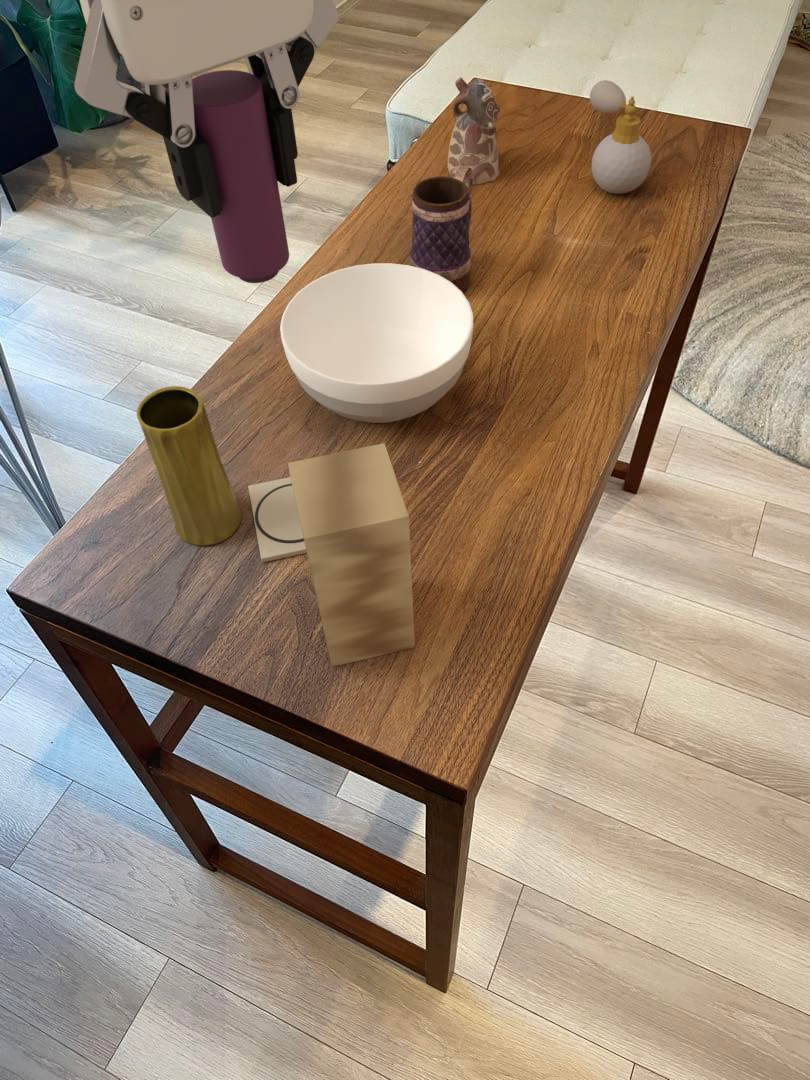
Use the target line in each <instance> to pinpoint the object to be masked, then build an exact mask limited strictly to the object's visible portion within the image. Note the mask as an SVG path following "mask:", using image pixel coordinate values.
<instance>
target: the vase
mask: <svg viewBox="0 0 810 1080" xmlns="http://www.w3.org/2000/svg"><path fill="white" fill-rule="evenodd" d="M136 418H137V421H138V422H139V425H140V428H141V430H142V433H143V436H144V438H145V442H146V445H147V448H148V451H149V453H150V455H151V458H152V461H153V463H154V465H155V468H156V471H157V475H158V476H159V479H160V483H161V485H162V488H163V492H164V495H165V497H166V501H167V504H168V507H169V510H170V514H171V516H172V519H173V521H174V527H175V531H176V533H177V534H178V536H179V537H180V538H181V539H182V540H183V541H185V542H186V543H188V544H191V545H195V546H201V547H204V546H212V545H216V544H219V543H221V542H223V541H226V539H228V538H230V537H231V536H232V535H233V534H234V533H235V532H236V531H237V529H238V528H239V526H240V525H241V521H242V509H241V508H240V505H239V504H238V501H237V498H236V496H235V493H234V490H233V488H232V485H231V482H230V479H229V477H228V474H227V472H226V469H225V467H224V465H223V463H222V460H221V456H220V454H219V453H220V452H219V450H218V447H217V443H216V440H215V436H214V434H213V432H212V428H211V427H212V426H211V424H210V420H209V417H208V414H207V411H206V406H205V404H204V402H203V400H202V398H201V396H200V395H199V393H197V392H196V391H194V390H193V389H191V388H188V387H185V386H177V385H176V386H175V385H171V386H165V387H161V388H158V389H156V390H154V391H152V392H151V393H149V394H147V395H146V396H145V397H144V398H143V399H142V401H140V402H139V404H138V406H137V408H136Z"/></svg>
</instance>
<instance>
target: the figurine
mask: <svg viewBox="0 0 810 1080" xmlns="http://www.w3.org/2000/svg"><path fill="white" fill-rule="evenodd" d="M454 85H455V87H456V88H457V90H458V92H459V94H458V95H457V96H456V98H455V99H454V102H453V104H452V105H453V106H452V114H453V117H454V126H453V129H452V132H451V137H450V140H449V145H448V154H447V171H448V174H449V177H451V173H452V171H453V169H454V167H455V166H456V164H467V165H468V166H469V167H470V168H471V169H472V173H473V186H474V185H475V186H476V185H481V184H485V183H489V182H493V181H496V180H497V178H498V176H500V174H501V170H500V151H499V146H498V134H497V128H496V125H497V122H498V120H497V119H498V118H499V113H500V112H501V109H500V107H499V105H498V104H497V103H496V100H495V94H494V91H493V89H491V87H490V85H489V84H488V83H487V82H486V81H485V80H483V79H482V78H475V79H473V80H472V82H471V83H470V85H469V84H467V82H466V81H465V80H464V79H463V77H458V78H457V79H456V80H455V82H454ZM463 104H464V105H465V106H466V108H467V109H466V110H465V111H462V110H461V109H460V108H459V107H460V105H463Z"/></svg>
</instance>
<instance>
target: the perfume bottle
mask: <svg viewBox="0 0 810 1080" xmlns="http://www.w3.org/2000/svg"><path fill="white" fill-rule="evenodd" d="M589 101H590V102H589V103H590V104H591V106H592V108H594V110H596V111H598V112H600V113H602V114H611V115H612V114H617V113H619V112H621V111H623V110H624V112H625V114H621V115H618V117H616V121H615V128H614V130H613V132H612V133H610V134H609V135H607V136H606V137H604V138H603V139H602V140H601V141H600V142H599V143H598V145H597V146H596V148H595V150H594V152H593V155H592V158H591V167H590V169H591V173H592V177H593V179H594V181H595V183H596V184H597V185H598V186H599V187H600V189H601V190H603V191H605V192H607V193H609V194H615V195H622V194H627V193H630V192H633V191H635V190H636V189H637V188H638V187H639V186H641V185H642V184H643V183H644V181H645V180H646V178H647V177H648V175H649V172H650V170H651V166H652V154H651V150H650V146H649V145H648V143H647V141H646V140H645V139H644V138H643V137H642V136H641V135H640V134H639V130H640V126H641V118H640V117H639V116H637V115H634V114H635V113H636V112H637V106H636V105H635V104H636V100H635V96H630V98H629V99H628V104H627V97H626V95H625V93H624V91H623V89H622V88H621V87H620V86H619V85H618V84H617V83H615V82H613V81H611V80H606V79H603V80H599V81H598V82H596V83H595V84H594V85H593V86H592V88H591V89H590V92H589Z"/></svg>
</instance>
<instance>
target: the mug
mask: <svg viewBox="0 0 810 1080" xmlns="http://www.w3.org/2000/svg"><path fill="white" fill-rule="evenodd" d="M473 186H474V185H473V173H472V169H471V168H470V167H469V166H468V165H467V164H456V166H455V167H454V169H453V171H452V173H451V176H446V175H445V176H432V177H428V178H425V179H423V180H421V181H419V182H418V183H416V185H415V186H414V188H413V194H412V198H411V210H412V219H411V221H412V225H411V227H412V230H411V240H412V241H411V249H410V255H409V258H410V259H409V266H413V267H418V268H422V269H425V270H428V271H430V272H433V273H435V274H438V275H440V276H442V277H443V278H445V279H447V280H448V281H450V282H452V283H453V284H454V285H455V286H456V287H457V288H458V289H459V290H460V291H462V293H464V291H465V290H466V289H468V287H469V285H470V280H471V279H470V270H471V267H472V250H471V248H470V229H471V225H472V204H473V203H472V201H473Z"/></svg>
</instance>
